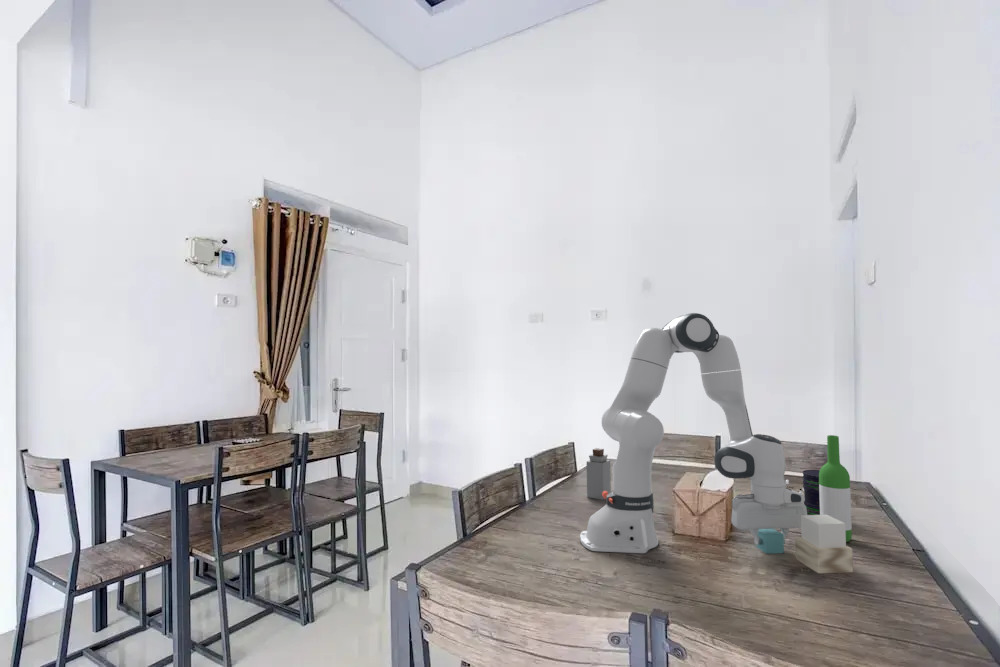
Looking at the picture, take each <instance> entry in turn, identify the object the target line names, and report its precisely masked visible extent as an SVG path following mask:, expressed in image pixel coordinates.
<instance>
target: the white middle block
mask: <svg viewBox="0 0 1000 667" xmlns="http://www.w3.org/2000/svg"><path fill="white" fill-rule="evenodd" d="M800 529H801V537H802V539H804V540H806V541H807V542H809V543H811V544H813V545H814V546H816V547H818V548H845V547H846V546H847V542H846V530H845V523H843V522H841V521H839V520H837V519H835V518H833V517H830V516H828V515H801V528H800Z"/></svg>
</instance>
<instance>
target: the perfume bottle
mask: <svg viewBox="0 0 1000 667" xmlns="http://www.w3.org/2000/svg"><path fill="white" fill-rule="evenodd" d="M604 453H605V449H604V448H600V447H599V448H597V447H595V448H593V449H592V454H589V455H588V457H589V460H587V461H586V498H590V499H596V500H601V501H605V500H606V499H605V498H604V497H603V496H602V493H603V491H607V492H608V493H610V492H612V490H611V488H612V487H611V485H612V483H611V480H612V479H611V477H612V475H611V460H610V459H608V454H604Z"/></svg>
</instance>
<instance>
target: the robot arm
mask: <svg viewBox="0 0 1000 667" xmlns="http://www.w3.org/2000/svg"><path fill="white" fill-rule="evenodd" d="M737 352H738V351H737V349H736V347H735V344H734V341H733V340H732V339H731V338H730V337H729V336H726V335H723V334H719V331H718V330H717V329H716V328H715V325H714V324H713V322H712V320H710V318H708V317H707V316H706V315H704V314H701V313H697V312H691V313H688V314H687V313H686V314H683V315H680V316H678V317H676V318H674V319H672V320H670V321H669V322H667V324H665V325H664V326H663V327H661V328H657V327H651V328H646V329H644V330H643V331H642V332H641V333H640V336H639V338H638V339H637V341H636V344H635V346H634V348H633V351H632V354H631V357H630V359H629V360H630V361H629V363H628V367H627V370H626V372H625V376H624V380H623V382H622V385H621V387H620V388H619V391H618V393H617V395H616V396H615V398H614V400H613V402H612V404H611V405H610V407H609V408H608V409H607V410H605V411H604V413H603V415H602V417H601V427H602V429H603V431H604V432H605V433H606V435H607V436H609V438H610V439H612V440H613V441H615V442H618V443H619V444H618V445H619V446H618V453H617V456H616V459H615V461H614V462H613V464H612V490H611V492H610V493H608V492H607V491H603V493H602V496H603V497H604V498H605V499H604V500H606V504H605V505H603V507H601V508H600V509H599V510H597V511H595V513H593V514H591V515H590V517H589V518H588V521H587V528H586V530H582V531H581V532H580V534H579V541H580V543H581V544H582V546H583V547H584V548H586V549H587V550H589V551H592V552H603V553H604V552H605V553H606V552H607V553H608V552H610V553H625V554H626V553H629V554H646V553H647V552H649V551H650V550H651V549H654V548H656V547H658V545H659V540H658V537H657V533H656V528H655V524H654V514H653V513H654V508H655V506H654V502H655V501H654V494H653V493H652V467H653V460H654V457H655V456H654V455H655V452H656V449H657V447H658V446H659V445H660V444H661V443H662V441H663V439H664V436H665V435H664V434H665V430H664V429H665V428H664V425H663V423H662V422H661V420H660V419H659V418H658V417H657V416H655V415H654V414H653V413H651V412H649V409H650V407H651V405H652V403H654V401H655V400H657V398H658V397H659V396H660V395H661V394H662V389H663V386H664V384H665V379H666V376H667V372H668V369H669V367H670V360H671V359H672V357H673V355H674V353H677V354H679V353H681V354H682V353H693V354H694V355H695V356H696V358H697V360H698V363H699V369H700V370H699V371H700V376H701V381H702V385H703V388H704V391H705V394H706V395H707V397H708V399H711V400H712V401H713V402H715V403H716V404H717V405H719V406H720V408H721V409H722V410H723V412H724V415H725V419H726V423H727V424H726V425H727V428H728V433H729V443H728V444H726V445H724V446H722V447H721V448H719V449H718V450H717V451H716V453H715V455H714V466H715V468H716V470H717V471H718V472H719V474H720V475H722V476H724V477H726V478H727V479H736V480H737V479H747V478H748V479H750V493H748V494H737V495H736V496H734V497H732V500H731V507H732V510H731V524H732V525H733V527H735V528H736V529H737V530H740V531H741V530H749V532H750V533H751V534H752V536H753V542H754V544H755V545H762V544H763V543H762V541H763V539H762V538H760V537H759V536H758V535H757V533H759V529H775V530H776V529H779V530H781V531H780V533H782V534H783V537H784V545H786V538H787V537H788V535H789V533H790V529H801V515H807V509H806V506H805V504H804V501H805V497H804V494H803V493H802V494H800V493H799V492H798V491H796V490H793V489H792V488H791V489H790V488H788V487H787V486H786V480H785V479H786V478H785V473H786V456H785V450H784V445H783V442H781V441H780V439H778V438H776V437H774V436H771V435H767V434H761V433H757V434H753V431H752V426H751V422H750V417H749V413H748V409H747V405H746V400H745V393H744V385H743V384H744V383H743V376H742V368H741V362H740V359H739V356H738V353H737Z"/></svg>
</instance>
